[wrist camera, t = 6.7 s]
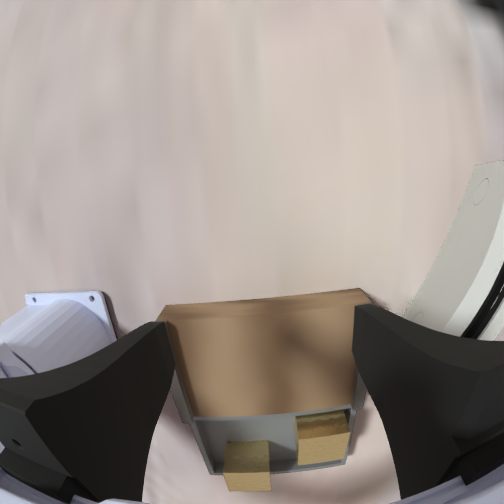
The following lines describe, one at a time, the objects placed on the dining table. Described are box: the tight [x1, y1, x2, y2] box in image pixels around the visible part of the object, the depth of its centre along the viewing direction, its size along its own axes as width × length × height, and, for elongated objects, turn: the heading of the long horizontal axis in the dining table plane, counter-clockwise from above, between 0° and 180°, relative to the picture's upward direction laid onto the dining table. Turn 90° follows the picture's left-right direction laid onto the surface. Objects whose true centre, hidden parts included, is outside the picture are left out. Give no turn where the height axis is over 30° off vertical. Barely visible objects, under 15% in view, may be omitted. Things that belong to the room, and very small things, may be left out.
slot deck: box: [155, 288, 374, 423], centre depth 20 cm, size 14×9×3 cm, turn 96°
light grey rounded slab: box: [402, 160, 504, 341], centre depth 15 cm, size 17×5×10 cm, turn 155°
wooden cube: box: [223, 440, 271, 491], centre depth 22 cm, size 4×4×4 cm
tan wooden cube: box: [294, 409, 350, 465], centre depth 21 cm, size 4×4×4 cm
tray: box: [190, 404, 356, 475], centre depth 23 cm, size 14×10×2 cm
